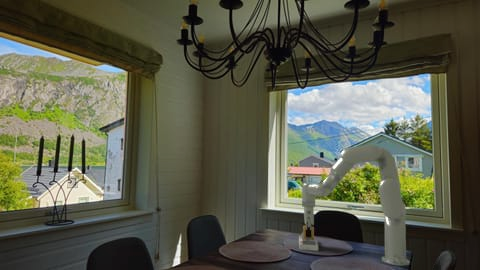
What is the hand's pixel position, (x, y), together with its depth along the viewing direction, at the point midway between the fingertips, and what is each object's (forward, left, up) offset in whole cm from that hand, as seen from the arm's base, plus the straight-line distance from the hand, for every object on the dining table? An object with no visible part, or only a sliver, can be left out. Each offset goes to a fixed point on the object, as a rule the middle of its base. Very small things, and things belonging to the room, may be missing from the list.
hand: (308, 236), depth 181 cm
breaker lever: (0, 0, -3) cm, 3 cm away
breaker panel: (+3, 0, -6) cm, 7 cm away
